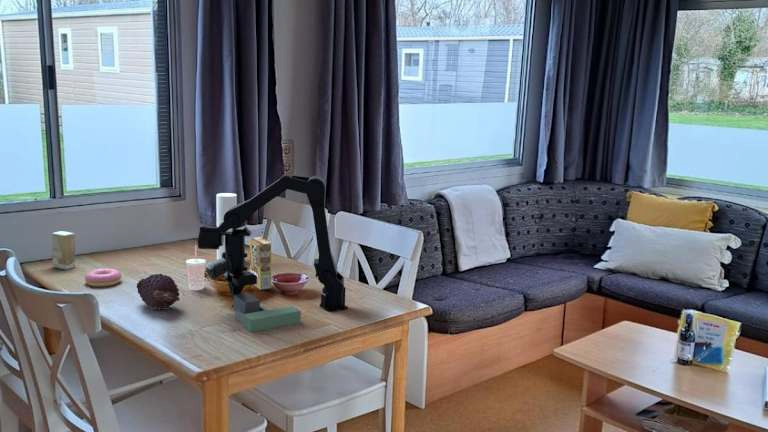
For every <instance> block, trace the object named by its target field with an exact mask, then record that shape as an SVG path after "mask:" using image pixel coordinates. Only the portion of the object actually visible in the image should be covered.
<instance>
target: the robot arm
mask: <svg viewBox="0 0 768 432" xmlns="http://www.w3.org/2000/svg"><path fill="white" fill-rule="evenodd" d="M326 186H327V184H326V180H325V179H324V178H323V177H322V176H320V175H313V176H310V177H309V176H308V177H307V176H301V175H293V174H290V173H289V174H288V173H287V174H286V173H285V174H283V175H281V177H279V178H278V179H277V180H276V181H274V182H273V183H272V184H270V185H268V186H267V187H265V188H264V189H263V190H261V191H260V192H258V193H256V194H255V195H254V196H253V197H251V198H250V199H247V200H245V201H242V202H240V203H237V205H235V206H233V207H231V208H230V209H229V210H228V211H227V212H226V213H225V215H224V219H223V220H224V222H223V223H221V224H220V225H219V227H217V226H207V225H201V226H200V227H199V231H198V232H199V233H198V238H197V249H198V250H217V249H219V248H220V246H223V243H224V235H225V252H223V254H222V258H220V259H218V260H217V259H215V260H213V261H211V262H210V263H206V264H205V270H206V272H207V275H208V276H209V277H211V279H217V278H218V277H219V276H220V277H221V279H223V280H224V281H225V282H226V283H227V285H228V290H229V292H230V295H231V298H232V301H233V302H234V295H237V294H242V291H243V289H244V288H245V286H251V285H253V284H257V276H256V275H254V274H253V273H251V272H250V271H248V267H247V266H246V261H245V260H246V258H248V253H247V252H246V250H245V249H246V246H245V245H246V237H251V235H252V234H253V233H252V231H251V230H250V229H249V228H248V227H247V226H244V228H240V227H242V226H243V225H244V224H245V222H247V220H248V219H250V217H251V216H252V215H254V214H255V212H256V211H258V210H260V208H262V207H264V206H265V205H266V204H268V203H269V202H271V201H272V200H274V199H275V198H277V197H278V196H279V195H281V194H282V193H284V192H285V191H287V190H290V191H293V192H297V193H301V194H306V197H307V200H308V202H309V205H310V208H311V210H312V217H313V224H314V230H315V231H314V232H315V239H316V243H317V244H316V245H317V251H318V258H314V261H313V266H314V269H315V278H317V279H318V282H319V283H320V284H321V285H323V287H322V290H321V291H322V292H321V293H320V303H319V307H321V308H323V309H324V310H326V311H328V312H334V311H342V310H346V309H348V307H349V305H346V289H347V288H346V287H345V278H344V276H343V275H342V274H341V273H340V272H339V271H338V267H337V263H336V260H335V258H334V256H333V252H332V249H331V242H330V241H331V240H330V234H329V227H328V220H327V213H326V189H327V188H326ZM229 229H233V230H232V231H230V232H226V231H228V230H229Z"/></svg>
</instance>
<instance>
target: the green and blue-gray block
mask: <svg viewBox="0 0 768 432" xmlns="http://www.w3.org/2000/svg"><path fill="white" fill-rule="evenodd" d="M301 318H302V312H301V310H300V309H299V308H297V307H295V306H293V305H289V306H283V307H277V308H273V309H269V308H268V307H267V306H264V305H263V306H262V305H260V311H259V312H253V313H247V314H243V313H242V312H241V311H239V310H237V311H234V319H235V320H237V321H238V322H239V323H240V324H242V326H243V328H245V329H246V330H247V331H249V332H250V333H254V332H259V331H260V332H261V331H264V330H265V331H266V330H269V329H273V328H274V329H275V328H280V327H284V326H285V327H286V326H290V325H296V324H301V323H302V322H301Z"/></svg>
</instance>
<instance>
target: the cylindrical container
mask: <svg viewBox="0 0 768 432" xmlns="http://www.w3.org/2000/svg"><path fill="white" fill-rule="evenodd" d="M237 199H238V194H236V193H233V192H232V193H231V192H230V193H229V192H222V193H217V194H216V201H215V202H216V227H219V225H220V224H221V223H223V222H224V220H223V219H224V215H225V213H226V212H227V211H228V210H229V209H230V208H231V207H233V206H235V205H238V202H237V201H238V200H237ZM232 230H233V229H229V230H228V231H226V232H230V231H232ZM223 252H225V235H224V243H223V246H220V248H219V249H216V260H218V259H220V258H222V254H223Z"/></svg>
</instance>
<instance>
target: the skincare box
mask: <svg viewBox="0 0 768 432" xmlns="http://www.w3.org/2000/svg"><path fill="white" fill-rule="evenodd" d="M75 235H76V234H75V233H74V232H70V231H64V230H61V231H54V232H52V233H51V245H52V246H51V247H52V248H51V249H52V268H57V269H61V270H70V269H73V268H75V267H76V241H75V239H76V236H75Z"/></svg>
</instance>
